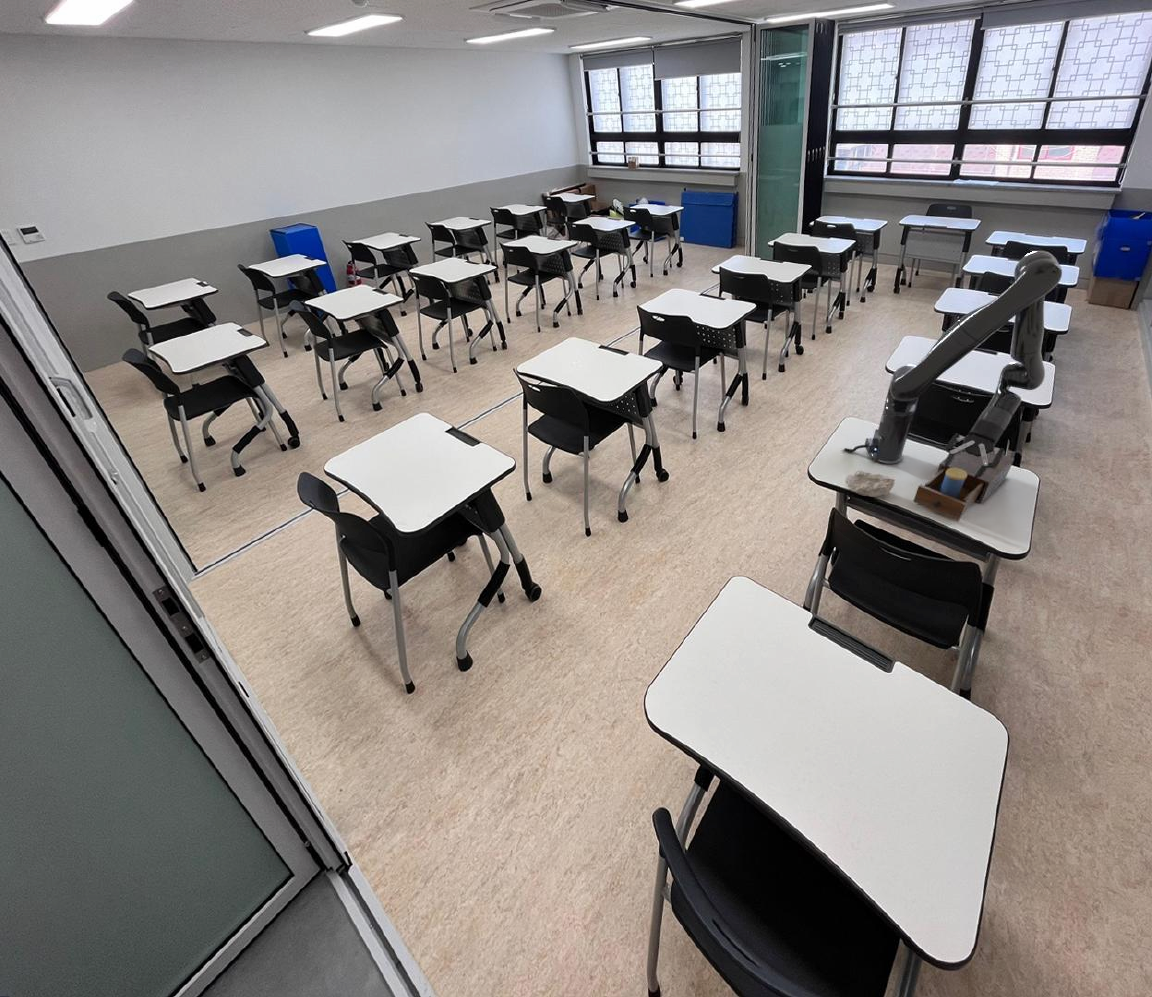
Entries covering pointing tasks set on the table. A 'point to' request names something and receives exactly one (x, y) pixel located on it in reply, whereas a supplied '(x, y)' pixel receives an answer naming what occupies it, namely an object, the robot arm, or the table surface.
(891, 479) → the stone
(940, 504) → the drawer
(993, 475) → the cabinet
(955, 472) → the tin
